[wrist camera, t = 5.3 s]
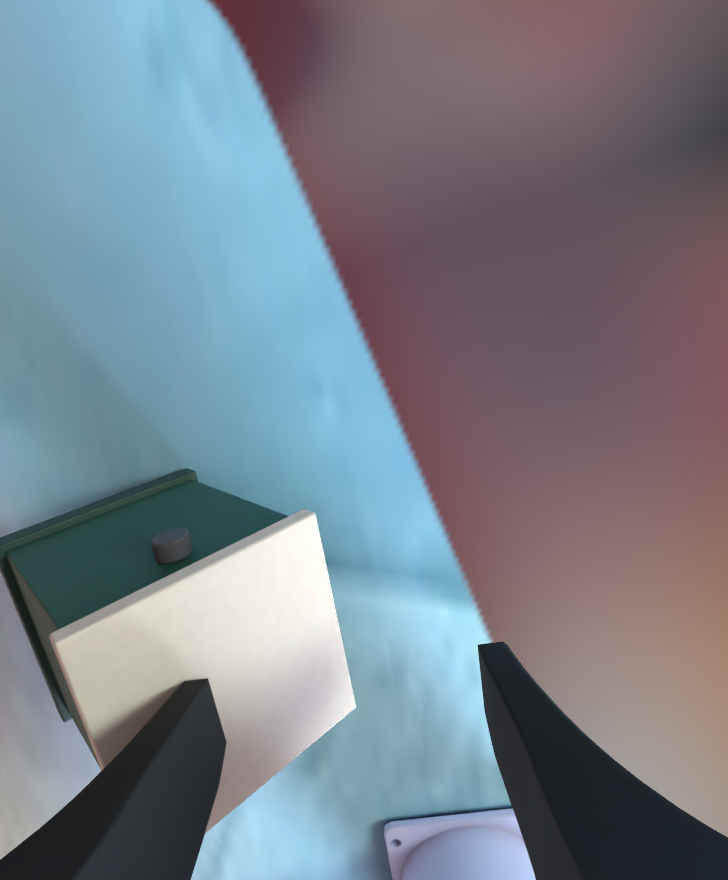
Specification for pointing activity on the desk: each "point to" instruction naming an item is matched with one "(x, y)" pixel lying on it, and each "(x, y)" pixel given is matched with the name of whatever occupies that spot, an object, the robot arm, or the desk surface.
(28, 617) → the green and cream block
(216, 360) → the desk surface
